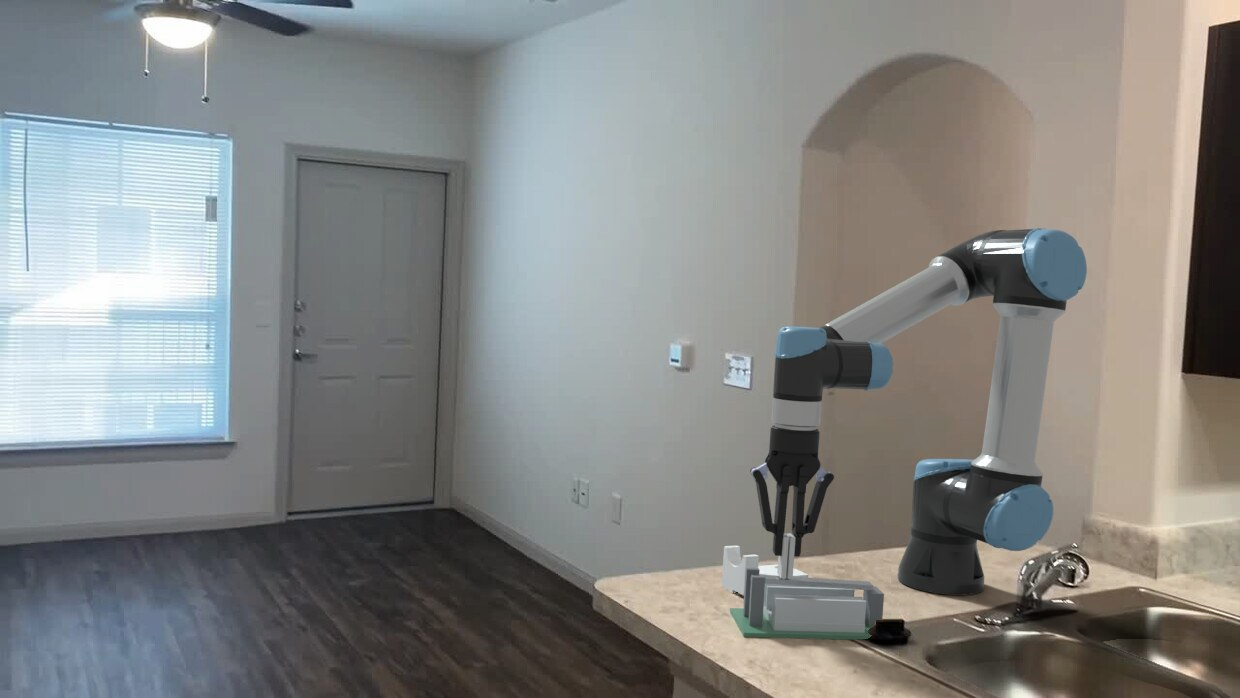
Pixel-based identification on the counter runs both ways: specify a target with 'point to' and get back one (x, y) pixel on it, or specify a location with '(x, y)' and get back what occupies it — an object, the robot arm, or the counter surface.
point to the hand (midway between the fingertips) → (784, 576)
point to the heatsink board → (805, 611)
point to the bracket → (744, 569)
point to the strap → (818, 582)
